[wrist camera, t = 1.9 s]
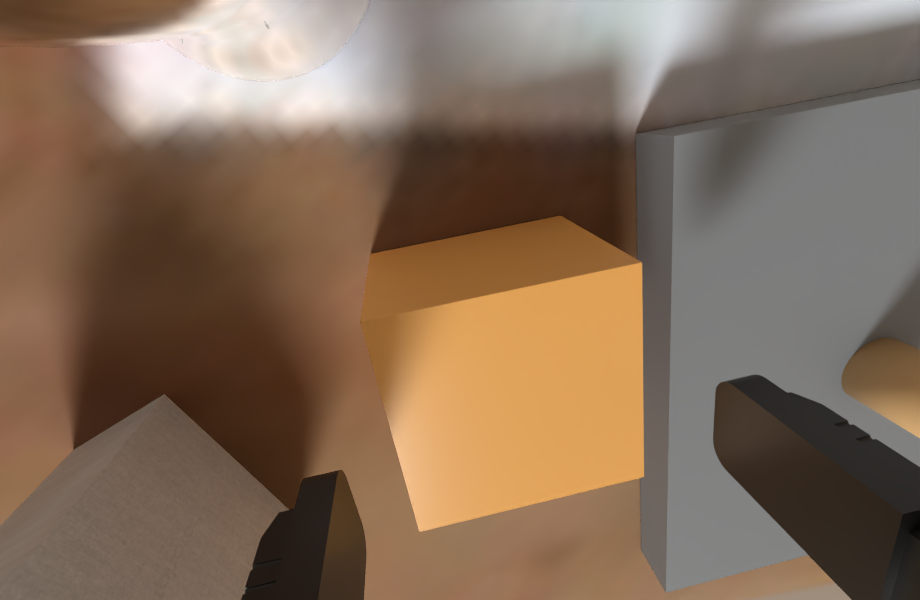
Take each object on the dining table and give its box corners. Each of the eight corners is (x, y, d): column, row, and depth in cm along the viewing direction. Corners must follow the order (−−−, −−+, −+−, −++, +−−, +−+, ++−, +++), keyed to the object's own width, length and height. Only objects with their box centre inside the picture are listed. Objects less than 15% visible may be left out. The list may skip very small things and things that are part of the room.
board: (635, 133, 14) (781, 142, 8) (1024, 59, 14) (1367, 27, 9) (641, 550, 21) (722, 691, 15) (902, 483, 21) (1060, 596, 16)
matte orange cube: (370, 253, 14) (360, 322, 9) (560, 215, 14) (641, 262, 10) (411, 413, 16) (419, 532, 11) (573, 376, 16) (644, 477, 12)
